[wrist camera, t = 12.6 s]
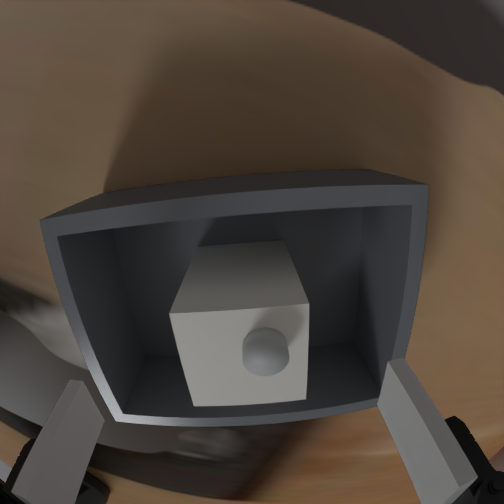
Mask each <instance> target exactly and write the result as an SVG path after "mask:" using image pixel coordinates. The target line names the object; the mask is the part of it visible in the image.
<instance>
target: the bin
mask: <svg viewBox="0 0 504 504" xmlns="http://www.w3.org/2000/svg"><path fill="white" fill-rule="evenodd" d="M428 193H429V185H428V184H424V183H421V182H417V181H413V180H410V179H406V178H402V177H398V176H394V175H390V174H386V173H382V172H378V171H374V170H370V169H367V170H322V171H299V172H281V173H266V174H253V175H241V176H230V177H220V178H210V179H201V180H192V181H184V182H176V183H168V184H160V185H153V186H146V187H140V188H133V189H127V190H121V191H115V192H109V193H103V194H99V195H96V196H94V197H91V198H89V199H87V200H84V201H82V202H79V203H77V204H75V205H72V206H70V207H68V208H65V209H63V210H61V211H58V212H56V213H54V214H52V215H50V216H47V217H45V218H43V219H41V220H40V225H41V229H42V234H43V238H44V242H45V246H46V250H47V254H48V258H49V262H50V265H51V269H52V272H53V276H54V279H55V282H56V286H57V289H58V292H59V295H60V298H61V301H62V304H63V307H64V309H65V312H66V315H67V318H68V320H69V323H70V326H71V328H72V331H73V333H74V336H75V338H76V341H77V343H78V346H79V348H80V350H81V353H82V355H83V357H84V360H85V362H86V364H87V366H88V368H89V371H90V373H91V375H92V377H93V379H94V381H95V383H96V385H97V387H98V389H99V391H100V393H101V395H102V397H103V399H104V401H105V403H106V404H107V406H108V408H109V410H110V412H111V413H112V415H113V417H114V419H115V421H119V422H127V423H137V424H151V425H166V426H242V425H258V424H271V423H281V422H291V421H299V420H307V419H314V418H321V417H327V416H333V415H339V414H344V413H349V412H354V411H359V410H364V409H369V408H373V407H377V406H378V405H377V403H378V399H379V396H380V392H381V388H382V384H383V380H384V376H385V372H386V367H387V363H388V361H392V360H396V359H400V358H404V359H405V355H406V351H407V347H408V343H409V339H410V334H411V330H412V325H413V320H414V315H415V310H416V304H417V299H418V293H419V287H420V280H421V273H422V266H423V258H424V249H425V239H426V228H427V214H428ZM274 240H284V242H285V244H286V247H287V249H288V252H289V254H290V256H291V259H292V261H293V264H294V266H295V269H296V271H297V274H298V276H299V279H300V281H301V284H302V286H303V289H304V291H305V294H306V296H307V299H308V301H309V342H308V370H307V391H306V399H304V400H295V401H286V402H276V403H265V404H251V405H232V406H194V405H193V401H192V398H191V395H190V391H189V388H188V385H187V381H186V378H185V374H184V371H183V367H182V363H181V360H180V356H179V352H178V348H177V344H176V340H175V336H174V332H173V328H172V324H171V320H170V315H169V312H170V310H171V308H172V305H173V303H174V300H175V298H176V295H177V293H178V291H179V288H180V286H181V284H182V281H183V279H184V276H185V274H186V272H187V269H188V267H189V265H190V263H191V260H192V258H193V256H194V253H195V251H196V249H197V247H200V246H212V245H224V244H237V243H249V242H262V241H274Z"/></svg>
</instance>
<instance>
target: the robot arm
mask: <svg viewBox="0 0 504 504" xmlns="http://www.w3.org/2000/svg"><path fill="white" fill-rule="evenodd" d="M377 405H378V408H379V410H380V412H381V414H382V416H383V418H384V420H385V422H386V425H387V427H388V429H389V431H390V433H391V435H392V438H393V440H394V442H395V444H396V446H397V449H398V451H399V453H400V455H401V457H402V460H403V462H404V464H405V467H406V469H407V471H408V473H409V476H410V478H411V480H412V483H413V485H414V487H415V490H416V492H417V494H418V497H419V499H420V502H421V504H504V472H501V471H496V470H495V469H494V468H493V467H492V466H491V464H490V463H489V461H488V459H487V458H486V456H485V455H484V453H483V451H482V450H481V448H480V447H479V445H478V443H477V442H476V441H475V439H474V437H473V436H472V434H470V431H469V429H468V428H467V426H466V425H465V423H464V422H463V421H461V420H460V419H458V418H457V417H456V416H452V417H450V418H447V419H445V420H444V419H443V417H442V416H441V414H440V412H439V411H438V409H437V408H436V406H435V405H434V403H433V401H432V400H431V398H430V397H429V395H428V394H427V392H426V391H425V389H424V388H423V386H422V385H421V383H420V382H419V380H418V379H417V377H416V376H415V374H414V373H413V371H412V370H411V368H410V367H409V365H408V364H407V362H406V361H405V360H404V358H400V359H396V360H392V361H388V363H387V367H386V372H385V376H384V380H383V384H382V388H381V392H380V396H379V399H378V403H377ZM104 422H105V420H104V418H103V417H102V415H101V413H100V411H99V410H98V408H97V406H96V404H95V402H94V401H93V399H92V397H91V395H90V393H89V391H88V389H87V387H86V385H85V384H84V381H78V380H70V381H69V382H68V384H67V386H66V387H65V389H64V391H63V393H62V394H61V396H60V398H59V399H58V401H57V403H56V405H55V406H54V408H53V410H52V412H51V413H50V415H49V417H48V419H47V421H46V423H45V424H44V426H43V428H42V430H41V432H40V434H39V435H38V437H37V439H31V440H29V441H28V442H27V443H26V444H25V445H24V447H23V449H22V451H21V452H20V456H18V458H17V460H16V463H15V464H14V466H13V468H12V471H11V472H10V474H9V477H8V479H7V481H6V483H5V482H4V481H2V480H1V479H0V504H106V503H107V501H108V498H109V494H110V491H109V489H108V488H107V487H106V486H105V485H104V484H103V483H102V482H101V481H99V480H98V479H96V478H95V477H93V476H92V475H90V474H89V473H87V472H86V469H87V466H88V464H89V461H90V458H91V455H92V453H93V450H94V447H95V445H96V442H97V440H98V437H99V434H100V432H101V429H102V427H103V424H104Z"/></svg>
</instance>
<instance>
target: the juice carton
mask: <svg viewBox="0 0 504 504" xmlns="http://www.w3.org/2000/svg"><path fill="white" fill-rule="evenodd" d="M169 315H170V320H171V324H172V328H173V332H174V336H175V340H176V344H177V348H178V352H179V356H180V360H181V363H182V367H183V371H184V374H185V378H186V381H187V385H188V388H189V391H190V395H191V398H192V401H193V405H194V406H232V405H251V404H265V403H276V402H286V401H295V400H304V399H306V391H307V370H308V342H309V301H308V299H307V296H306V294H305V291H304V289H303V286H302V284H301V281H300V279H299V276H298V274H297V271H296V269H295V266H294V264H293V261H292V259H291V256H290V254H289V252H288V249H287V247H286V244H285V242H284V240H274V241H262V242H249V243H237V244H224V245H212V246H200V247H197V249H196V251H195V253H194V256H193V258H192V260H191V263H190V265H189V267H188V269H187V272H186V274H185V276H184V279H183V281H182V284H181V286H180V288H179V291H178V293H177V295H176V298H175V300H174V303H173V305H172V308H171V310H170V312H169Z"/></svg>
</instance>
